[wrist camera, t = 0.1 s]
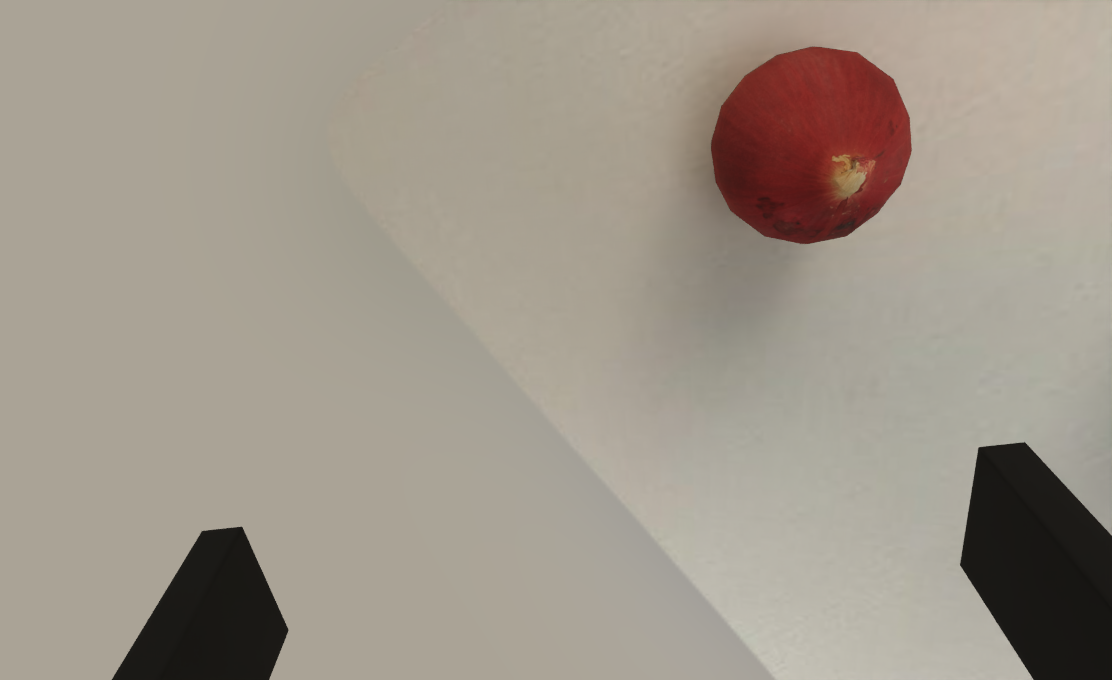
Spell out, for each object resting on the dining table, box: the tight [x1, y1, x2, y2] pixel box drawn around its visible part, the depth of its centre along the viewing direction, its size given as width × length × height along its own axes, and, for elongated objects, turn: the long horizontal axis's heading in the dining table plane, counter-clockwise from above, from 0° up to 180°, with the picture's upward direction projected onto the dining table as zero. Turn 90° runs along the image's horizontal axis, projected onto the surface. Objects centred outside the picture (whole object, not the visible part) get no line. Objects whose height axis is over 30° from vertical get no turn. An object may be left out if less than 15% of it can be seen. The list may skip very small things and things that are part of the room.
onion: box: [711, 47, 912, 244], centre depth 23 cm, size 6×6×8 cm
